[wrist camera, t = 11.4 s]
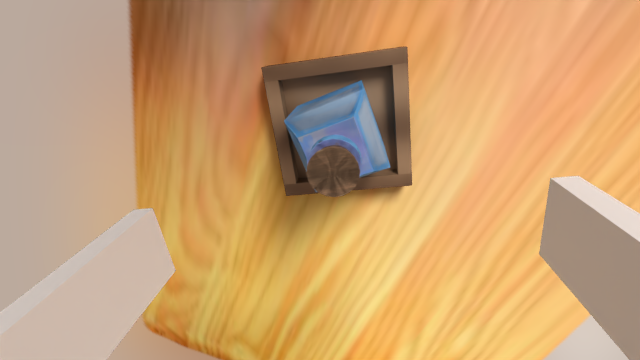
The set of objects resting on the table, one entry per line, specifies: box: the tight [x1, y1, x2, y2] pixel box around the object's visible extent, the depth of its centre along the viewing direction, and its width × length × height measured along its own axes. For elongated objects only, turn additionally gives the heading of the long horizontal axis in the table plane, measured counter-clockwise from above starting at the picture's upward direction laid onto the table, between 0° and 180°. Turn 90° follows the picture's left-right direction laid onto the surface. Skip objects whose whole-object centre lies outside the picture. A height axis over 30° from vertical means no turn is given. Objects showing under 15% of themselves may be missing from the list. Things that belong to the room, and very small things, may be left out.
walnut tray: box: [262, 47, 412, 196], centre depth 30 cm, size 12×12×2 cm
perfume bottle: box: [284, 80, 390, 197], centre depth 25 cm, size 6×6×12 cm
